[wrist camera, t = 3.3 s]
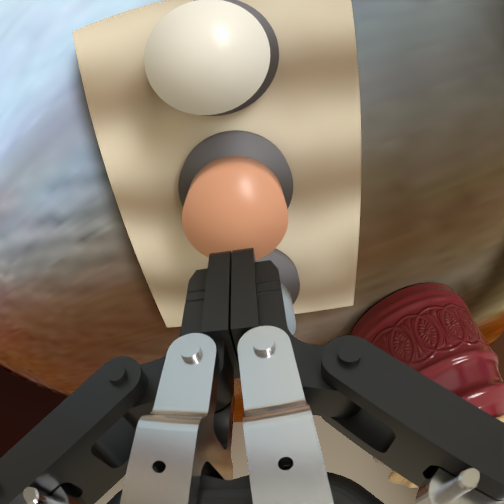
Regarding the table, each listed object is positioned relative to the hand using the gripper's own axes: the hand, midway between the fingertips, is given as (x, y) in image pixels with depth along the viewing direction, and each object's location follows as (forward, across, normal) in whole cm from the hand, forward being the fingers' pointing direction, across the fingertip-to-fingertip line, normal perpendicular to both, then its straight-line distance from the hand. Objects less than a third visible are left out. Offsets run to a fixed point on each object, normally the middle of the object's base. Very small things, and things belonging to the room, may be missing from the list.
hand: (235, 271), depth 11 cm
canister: (+10, -14, +18) cm, 25 cm away
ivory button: (+5, 0, -7) cm, 9 cm away
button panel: (+10, 0, 0) cm, 10 cm away
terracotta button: (+5, 0, 0) cm, 5 cm away
